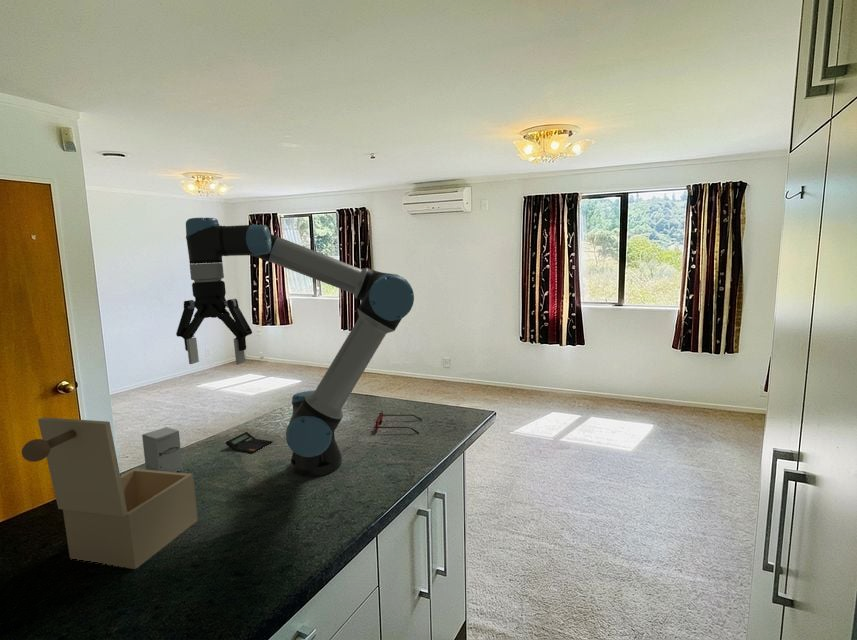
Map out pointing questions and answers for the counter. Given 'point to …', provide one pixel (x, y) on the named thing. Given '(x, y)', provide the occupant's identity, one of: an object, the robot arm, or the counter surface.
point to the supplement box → (162, 450)
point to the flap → (80, 464)
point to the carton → (135, 520)
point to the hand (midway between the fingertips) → (217, 363)
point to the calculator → (247, 443)
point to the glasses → (391, 427)
